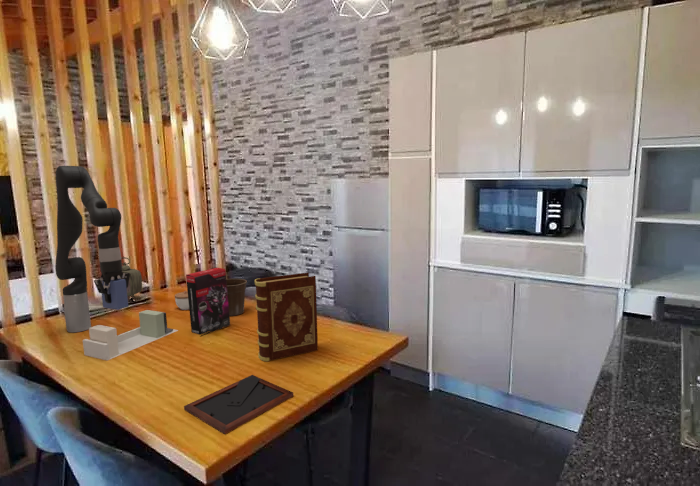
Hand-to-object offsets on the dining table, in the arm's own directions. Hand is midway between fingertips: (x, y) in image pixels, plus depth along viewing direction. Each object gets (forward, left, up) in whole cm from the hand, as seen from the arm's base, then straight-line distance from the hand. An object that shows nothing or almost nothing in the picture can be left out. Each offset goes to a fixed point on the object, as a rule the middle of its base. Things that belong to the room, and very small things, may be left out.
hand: (115, 301), depth 167 cm
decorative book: (+65, +22, -20) cm, 72 cm away
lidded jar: (-17, +51, -20) cm, 58 cm away
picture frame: (+73, -14, -21) cm, 77 cm away
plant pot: (+11, +54, -20) cm, 59 cm away
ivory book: (+2, -8, -19) cm, 20 cm away
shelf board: (+2, +5, -20) cm, 21 cm away
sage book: (+2, +14, -19) cm, 23 cm away
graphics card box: (+19, +30, -20) cm, 41 cm away
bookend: (+2, +19, -18) cm, 26 cm away
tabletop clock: (-60, +50, -20) cm, 80 cm away
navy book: (0, 0, -2) cm, 2 cm away
